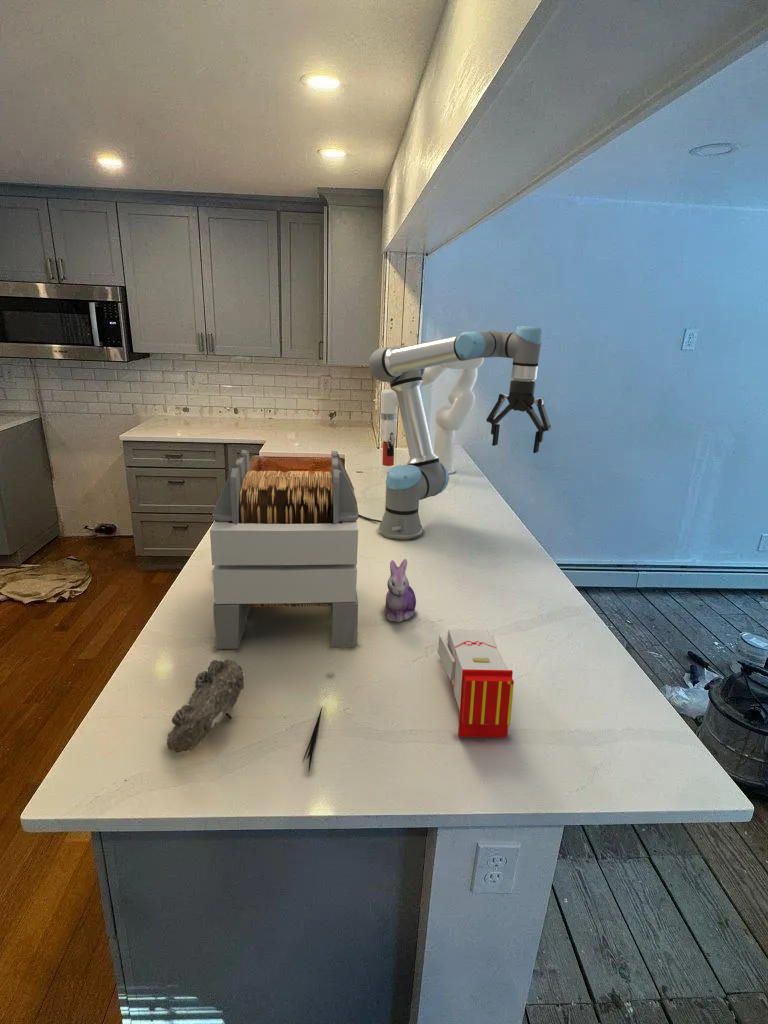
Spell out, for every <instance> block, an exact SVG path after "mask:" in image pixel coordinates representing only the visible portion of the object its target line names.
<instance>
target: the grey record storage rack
mask: <svg viewBox="0 0 768 1024" xmlns="http://www.w3.org/2000/svg"><path fill="white" fill-rule="evenodd" d="M330 459H331V460H330V461H331V462H330V466H331V467H330V471H324V472H323V471H320V470H319V471H317V470H316V471H315V470H314V472H310V471H309V470H288V471H281V470H278V471H277V470H259V471H258V470H251V464H250V450H249V449H247V450H246V449H241V450H240V453H239V455H238V457H237V459H236V461H235V463H234V465H233V467H232V468H231V470H230V472H229V474H228V477H227V479H226V481H225V483H224V485H223V488H222V490H221V492H220V495H219V497H218V499H217V501H216V503H215V506H214V507H213V510H212V520H213V523H212V524H211V527H210V529H209V538H210V555H211V565H212V566H214V567H213V569H212V584H213V600H214V601H213V605H212V610H213V611H212V612H213V624H214V633H215V646H214V648H215V649H216V650H222V651H223V649H225V650H227V649H229V650H230V649H233V650H234V649H235V650H237V649H238V648H239V646H240V643H241V641H242V638H243V635H244V633H245V630H246V628H247V618H249V615H250V612H251V608H270V607H272V608H276V607H277V608H279V607H280V608H282V607H285V608H288V607H291V608H294V607H295V608H296V607H306V606H307V607H326V606H328V607H330V617H331V618H330V620H331V621H330V625H331V626H330V627H331V647H333V648H335V647H337V648H338V647H339V648H340V647H347V648H354V647H356V646H358V622H359V621H358V618H359V600H358V592H357V583H358V568H357V564H358V547H359V546H358V545H359V528H358V527H359V526H358V520H359V515H360V514H359V507H358V502H357V498H356V497H357V496H356V493H355V492H356V491H355V487H354V485H353V482H352V481H351V478H350V477H349V474H348V472H347V470H346V468H345V465H344V463H343V461H342V459H341V457H340V455H339V453H338V451H337V450H331V458H330Z"/></svg>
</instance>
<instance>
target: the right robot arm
mask: <svg viewBox="0 0 768 1024" xmlns="http://www.w3.org/2000/svg"><path fill="white" fill-rule="evenodd" d="M484 360H485V358H476V359H470V360H465V361H458V362H453V363H448V364H443V365H438V366H433V367H428V368H425V370H424V374H423V375H422V381H423V382H422V384H421V385H420V388H421V387H425V386H427V385H430V384H433V383H434V382H435V381H436V380H437V379H438V378H439V377H440V376H441V375H442V374H443V373H444V372H445V371H446V370H447V369H452V370H459V374H458V377H457V378H456V379H455V380H456V381H455V382H454V384H453V386H452V388H451V389H450V391H449V393H448V396H447V400H448V402H449V404H450V405H451V406H448V405H447V406H445V405H444V406H441V407H439V408H438V409H437V410H436V412H435V416H434V425H435V431H434V432H435V435H434V437H435V438H434V447H433V453H434V454H435V455H437V456H438V457H439V462H440V463H442V464H443V466H445V467H446V468H447V471H448V474H449V475H450V474H451V475H452V474H454V473H455V472H456V468H454V467H453V463H454V451H455V440H456V431H457V430H460V429H461V428H462V427H463V425H464V424H465V423H466V421H467V419H468V417H469V415H470V414H471V412H472V410H473V408H474V406H475V403H476V395H475V393H474V392H473V391H472V390H473V388H474V386H475V384H476V382H477V379H478V369H479V368H480V367H481V366H482V365H483V364H484ZM398 406H399V404H398V399H397V395H396V392H395V391H393V390H392V389H391V388H385V389H382V390H381V392H380V432H379V433H380V434H379V435H380V436H379V437H380V439H381V440H382V444H383V443H386V442H387V444H388V448H387V456H394V457H395V442H396V438H397V427H396V425H397V424H396V421H397V420H398ZM389 443H390V445H389Z"/></svg>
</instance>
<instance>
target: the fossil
mask: <svg viewBox="0 0 768 1024" xmlns="http://www.w3.org/2000/svg"><path fill="white" fill-rule="evenodd" d="M243 670H244V669H243V667H242V665H240V664H237V662H236V661H235V660H234V659H232V658H231V659H227V658H226V659H224V660H223V661H222V660H217V659H212V660H211V661H210V663H209V665H208V666H207V671H201V672H199V673H198V674H197V675H196V676H195V680H194V684H195V685H194V687H195V689H194V690H193V693H192V694H191V697H190V698H189V700H188V704H184V705H182V706H181V707H180V709H177V710H176V711H175V713H174V715H173V716H172V718H171V723H172V724H173V727H172V730H171V731H170V732H168V734H167V738H166V741H167V742H166V745H167V749H168V750H169V751H173V752H174V753H176V754H178V753H182V752H188V751H189V752H192V751H193V750H195V748H196V747H197V746H199V744H200V743H201V742H203V741H204V740H205V739H206V738H207V737H208V736H209V735H210V734H211V733H212V732H214V730H215V729H217V727H218V726H219V724H220V722H221V721H222V720H223V719H224V718H225V716H226V717H227V719H229V720H233V717H232V715H230V714H229V710H230V709H231V708H234V706H235V704H236V703H237V702H238V699H239V697H240V695H241V693H242V691H243V690H245V689H244V688H245V675H244V671H243Z"/></svg>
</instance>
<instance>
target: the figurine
mask: <svg viewBox="0 0 768 1024" xmlns="http://www.w3.org/2000/svg"><path fill="white" fill-rule="evenodd" d="M407 567H408V559H406V558H404V559H403V560H402V561H401V563H400V565H399V566H398V565H397V563H396V562H395V561H394V560H393V559H391V560H390V561H389V570H390V576H389V578H388V579H387V589H388V591H387V592H386V594H385V595H386V596H385V607H384V615H385V616H386V620H387V621H391V622H395V623H400V622H402V621H406V620H409V619H410V618H411V617H413V616H414V615H415V610H416V606H417V597H416V593H415V591H414V590H413V587H411V586H410V582H409V579H408V577H407V574H406V571H407Z"/></svg>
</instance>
